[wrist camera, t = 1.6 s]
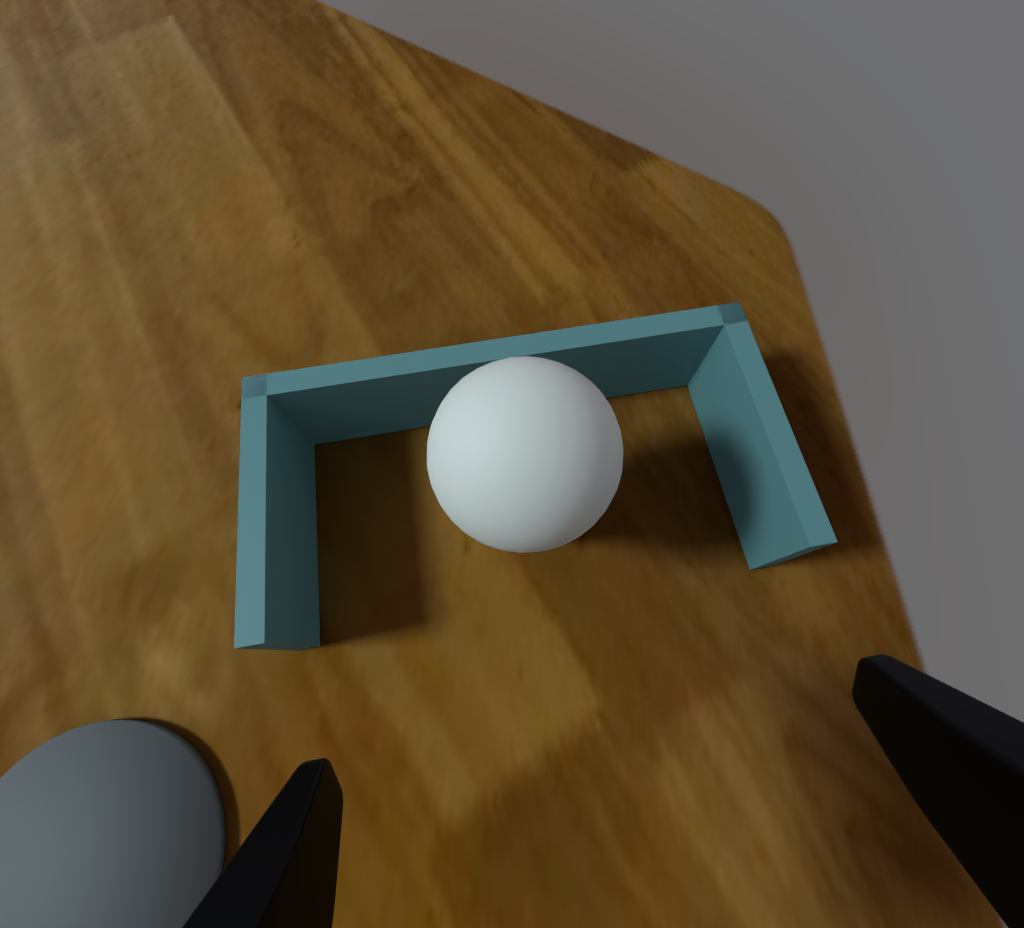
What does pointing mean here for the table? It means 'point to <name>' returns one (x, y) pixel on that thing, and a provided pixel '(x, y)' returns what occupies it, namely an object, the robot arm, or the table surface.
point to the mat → (109, 830)
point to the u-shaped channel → (423, 386)
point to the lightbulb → (524, 454)
